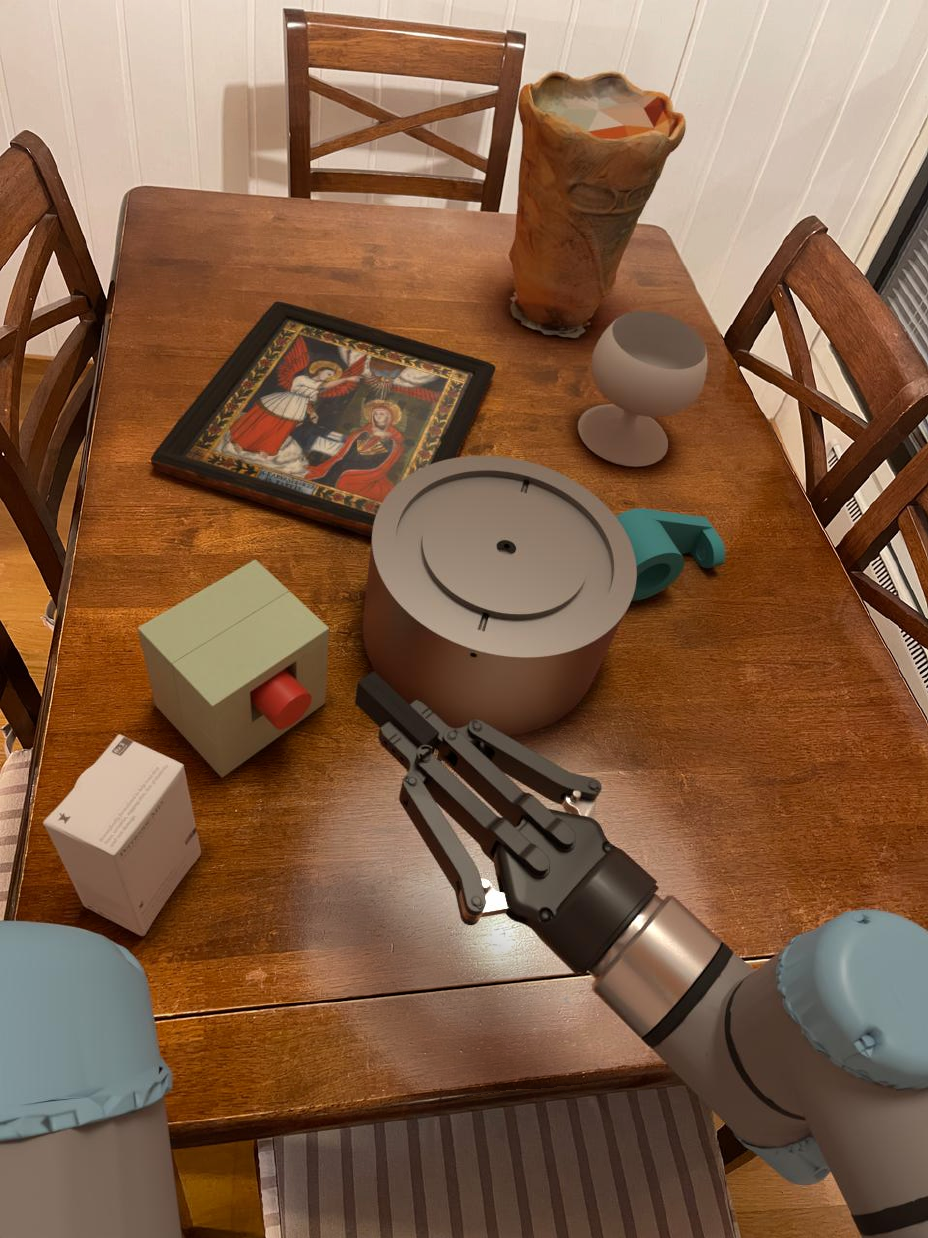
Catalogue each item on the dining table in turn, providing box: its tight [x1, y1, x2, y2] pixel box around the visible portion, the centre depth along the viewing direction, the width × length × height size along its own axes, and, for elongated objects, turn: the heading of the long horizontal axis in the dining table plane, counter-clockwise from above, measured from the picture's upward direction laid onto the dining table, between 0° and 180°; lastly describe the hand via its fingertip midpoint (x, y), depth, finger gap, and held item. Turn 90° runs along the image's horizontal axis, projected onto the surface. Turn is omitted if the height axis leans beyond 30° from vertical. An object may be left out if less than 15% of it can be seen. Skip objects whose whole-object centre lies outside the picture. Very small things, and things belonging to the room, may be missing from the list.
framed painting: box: [150, 301, 496, 538], centre depth 108 cm, size 38×35×3 cm
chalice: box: [577, 310, 709, 468], centre depth 110 cm, size 14×14×15 cm
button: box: [250, 669, 312, 729], centre depth 75 cm, size 6×4×4 cm
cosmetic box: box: [42, 733, 202, 937], centre depth 66 cm, size 8×6×15 cm
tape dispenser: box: [615, 507, 726, 602], centre depth 99 cm, size 7×15×8 cm, turn 111°
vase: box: [508, 70, 687, 339], centre depth 121 cm, size 21×20×30 cm
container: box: [362, 455, 637, 737], centre depth 88 cm, size 25×25×13 cm
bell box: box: [137, 559, 330, 779], centre depth 79 cm, size 10×12×12 cm
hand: (364, 687), depth 62 cm, fingers closed
